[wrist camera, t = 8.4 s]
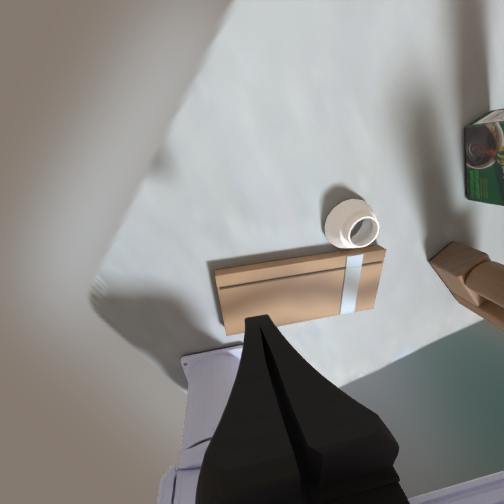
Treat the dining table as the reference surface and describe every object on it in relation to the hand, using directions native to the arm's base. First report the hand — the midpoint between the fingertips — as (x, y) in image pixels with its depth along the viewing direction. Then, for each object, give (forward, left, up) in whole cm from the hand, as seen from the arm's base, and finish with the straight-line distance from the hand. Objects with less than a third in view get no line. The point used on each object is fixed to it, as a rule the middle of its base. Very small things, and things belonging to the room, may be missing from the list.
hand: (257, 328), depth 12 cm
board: (-5, -6, -10) cm, 13 cm away
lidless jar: (+2, -11, -10) cm, 15 cm away
